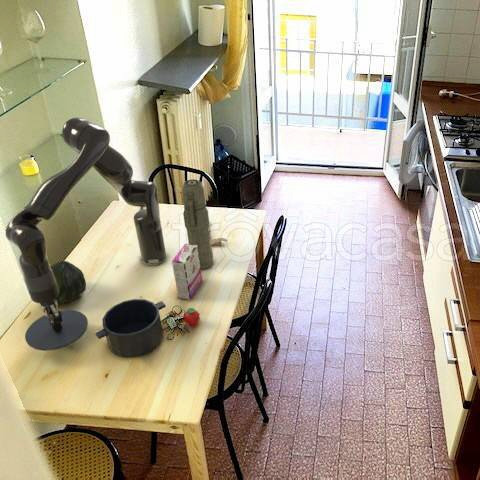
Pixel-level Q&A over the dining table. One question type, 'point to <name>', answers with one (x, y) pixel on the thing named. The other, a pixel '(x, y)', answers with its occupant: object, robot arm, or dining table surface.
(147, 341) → the pot
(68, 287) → the squash
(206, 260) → the thermos
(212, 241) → the jawbone
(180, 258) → the candy bar box
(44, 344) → the lid
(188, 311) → the strawberry
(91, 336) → the dining table surface
